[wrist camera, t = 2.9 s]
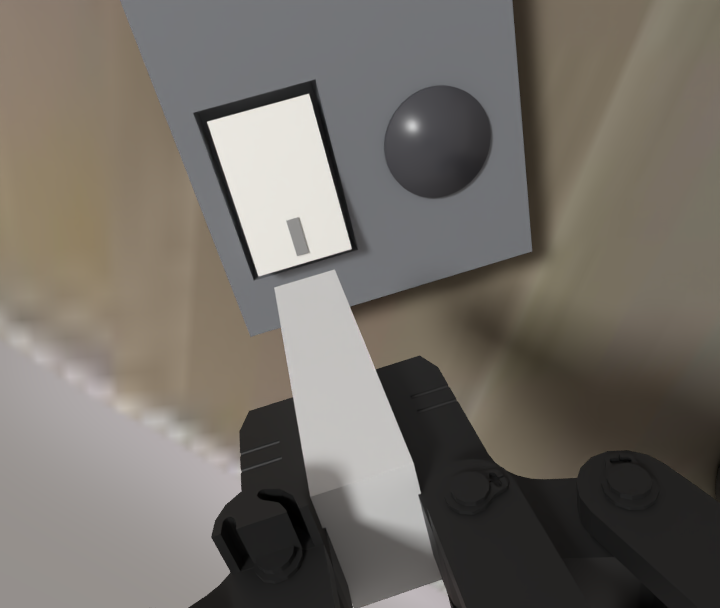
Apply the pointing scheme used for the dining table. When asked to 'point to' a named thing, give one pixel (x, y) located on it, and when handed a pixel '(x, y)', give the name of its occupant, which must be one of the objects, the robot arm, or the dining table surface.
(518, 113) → the rocker switch box
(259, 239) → the rocker
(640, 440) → the dining table surface
